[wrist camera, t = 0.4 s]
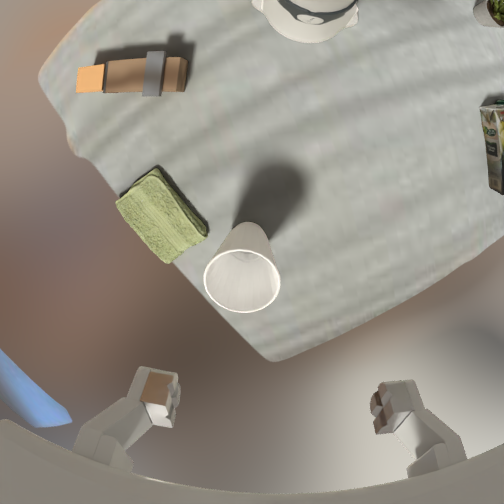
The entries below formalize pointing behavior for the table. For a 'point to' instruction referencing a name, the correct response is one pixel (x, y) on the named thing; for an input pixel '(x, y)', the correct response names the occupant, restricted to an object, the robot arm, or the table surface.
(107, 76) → the block
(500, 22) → the house plant
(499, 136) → the juice carton
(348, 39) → the table surface
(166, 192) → the washcloth
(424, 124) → the table surface
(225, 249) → the cup
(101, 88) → the peach rectangular block
